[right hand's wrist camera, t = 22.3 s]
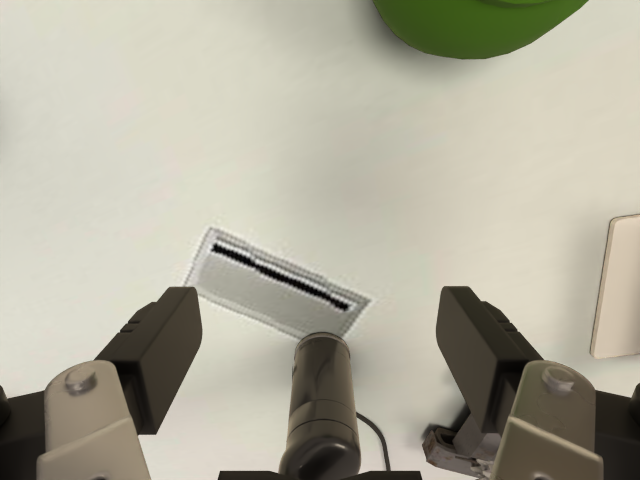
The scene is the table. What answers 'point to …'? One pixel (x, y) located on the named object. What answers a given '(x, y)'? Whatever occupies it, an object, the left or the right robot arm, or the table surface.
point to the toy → (463, 450)
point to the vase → (473, 24)
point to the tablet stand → (619, 292)
